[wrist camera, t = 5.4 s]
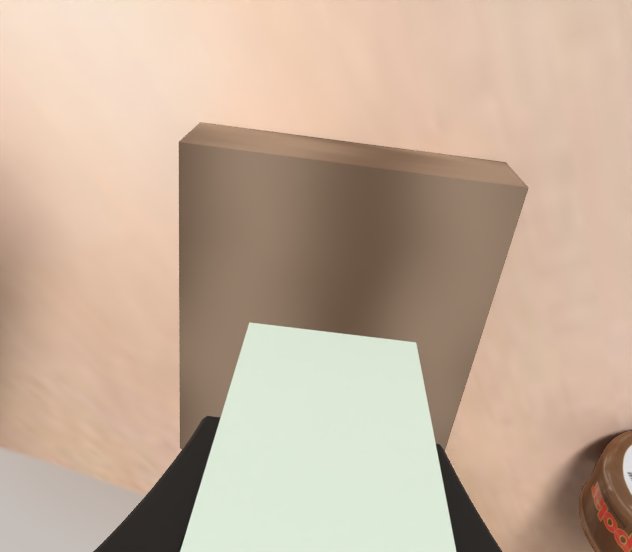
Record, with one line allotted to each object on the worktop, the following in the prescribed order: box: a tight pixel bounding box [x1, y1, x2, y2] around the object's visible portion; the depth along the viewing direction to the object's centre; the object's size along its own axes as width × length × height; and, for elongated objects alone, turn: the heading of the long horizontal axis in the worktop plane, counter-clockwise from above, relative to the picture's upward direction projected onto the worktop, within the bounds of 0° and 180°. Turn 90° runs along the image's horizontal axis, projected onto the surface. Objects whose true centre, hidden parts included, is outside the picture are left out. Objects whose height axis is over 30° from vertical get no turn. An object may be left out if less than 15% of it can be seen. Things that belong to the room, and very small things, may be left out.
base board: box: [179, 123, 528, 451], centre depth 19 cm, size 10×12×2 cm
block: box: [180, 322, 456, 552], centre depth 11 cm, size 4×4×6 cm
